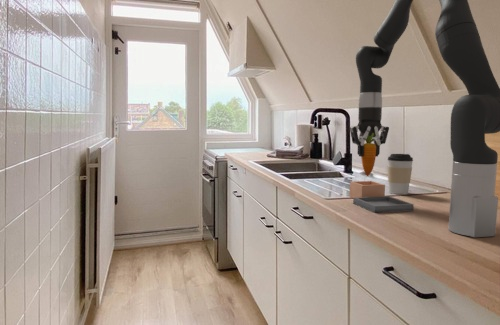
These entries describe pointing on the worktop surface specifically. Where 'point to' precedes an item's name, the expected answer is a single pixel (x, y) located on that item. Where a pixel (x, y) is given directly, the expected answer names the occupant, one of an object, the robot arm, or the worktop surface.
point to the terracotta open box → (366, 189)
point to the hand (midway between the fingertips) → (368, 156)
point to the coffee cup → (399, 173)
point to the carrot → (369, 155)
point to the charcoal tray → (382, 204)
